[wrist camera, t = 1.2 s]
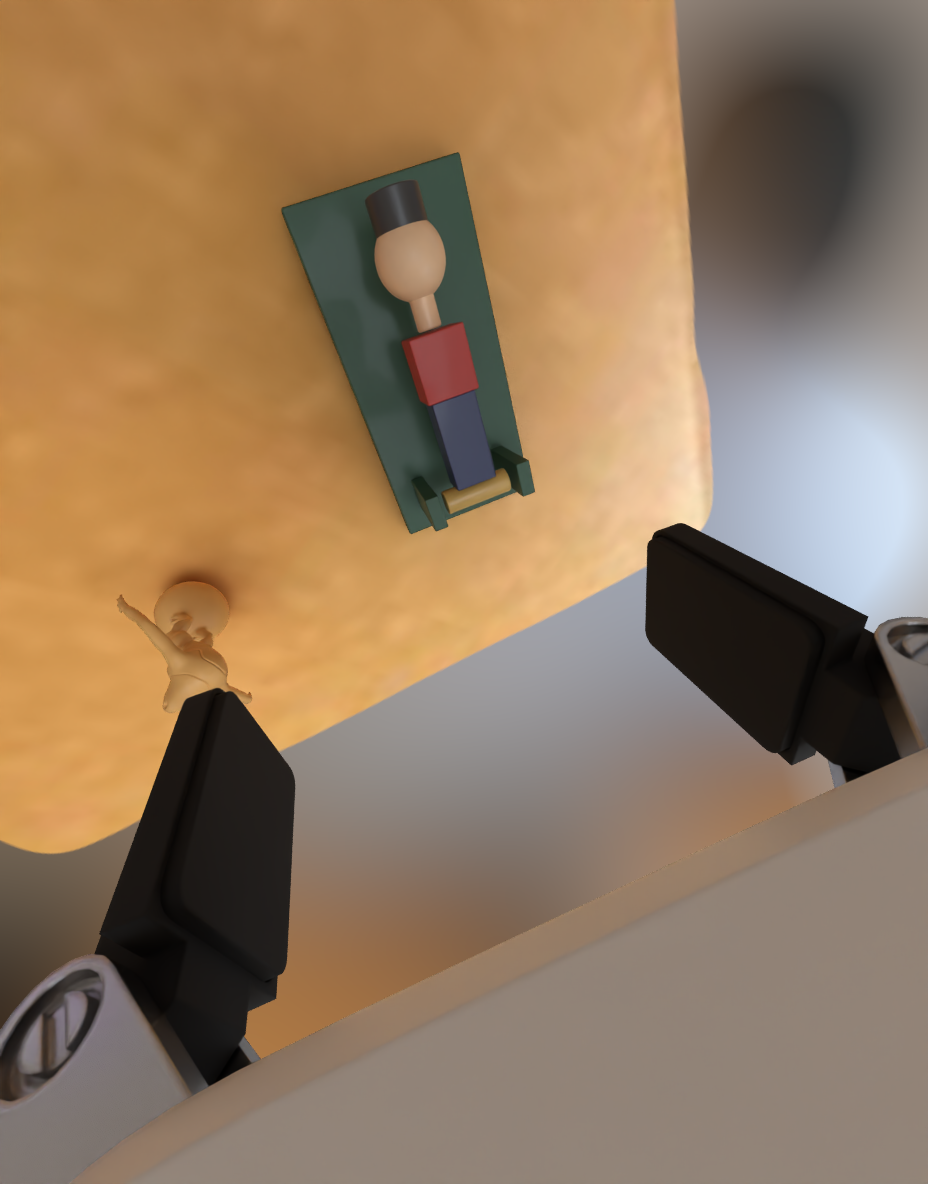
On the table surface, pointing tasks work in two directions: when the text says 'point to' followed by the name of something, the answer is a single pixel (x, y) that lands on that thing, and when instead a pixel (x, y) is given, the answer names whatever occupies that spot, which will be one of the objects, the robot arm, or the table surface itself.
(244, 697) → the figurine
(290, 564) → the table surface
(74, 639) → the table surface
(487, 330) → the stand
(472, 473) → the toy soldier
